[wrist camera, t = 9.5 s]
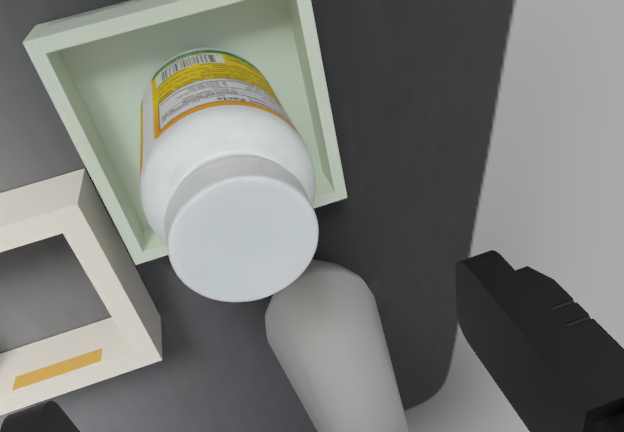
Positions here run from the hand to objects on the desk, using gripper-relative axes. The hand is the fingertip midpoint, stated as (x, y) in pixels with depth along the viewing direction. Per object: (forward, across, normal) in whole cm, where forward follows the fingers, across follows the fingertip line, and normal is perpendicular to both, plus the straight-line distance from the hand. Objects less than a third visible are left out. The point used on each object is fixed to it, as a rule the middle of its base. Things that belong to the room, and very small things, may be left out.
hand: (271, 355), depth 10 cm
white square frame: (+14, +10, +6) cm, 18 cm away
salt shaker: (+14, -2, +12) cm, 19 cm away
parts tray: (+14, 0, 0) cm, 14 cm away
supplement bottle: (+14, 0, 0) cm, 14 cm away
